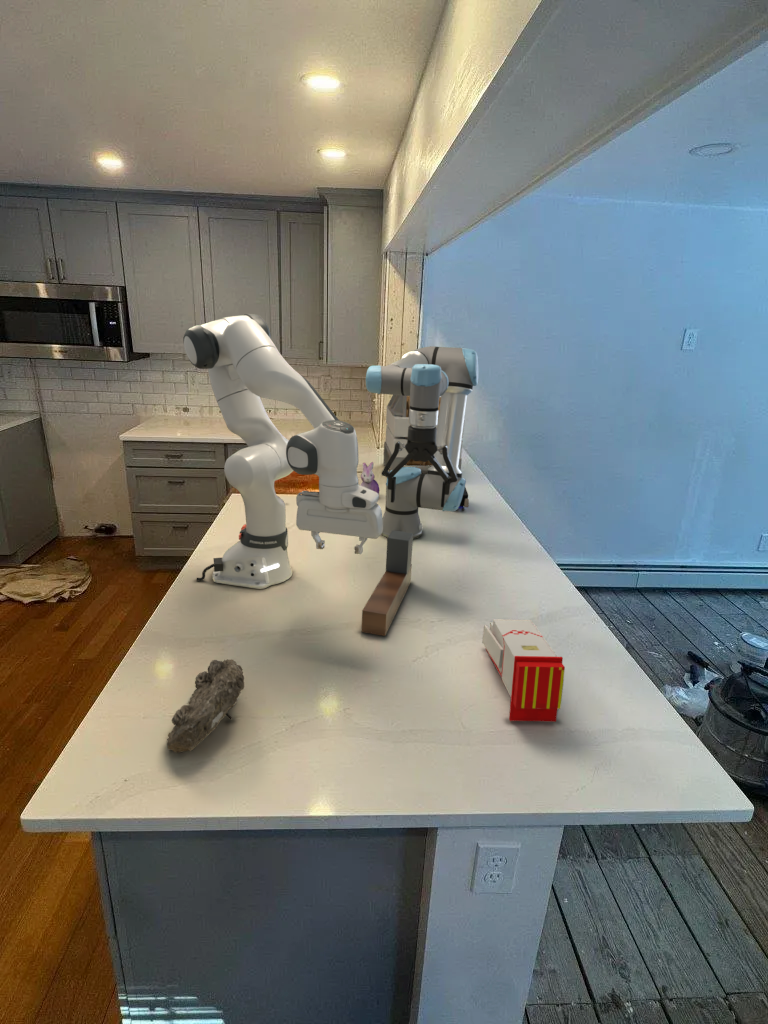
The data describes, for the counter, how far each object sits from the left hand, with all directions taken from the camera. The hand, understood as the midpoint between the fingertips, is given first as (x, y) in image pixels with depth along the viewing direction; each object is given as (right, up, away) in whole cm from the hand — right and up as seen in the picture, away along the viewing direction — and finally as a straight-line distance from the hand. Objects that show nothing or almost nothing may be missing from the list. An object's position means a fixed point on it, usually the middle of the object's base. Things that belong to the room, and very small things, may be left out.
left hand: (339, 550), depth 132 cm
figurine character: (+41, +11, +98) cm, 107 cm away
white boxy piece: (+28, +28, +143) cm, 148 cm away
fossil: (-22, -30, -24) cm, 44 cm away
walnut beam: (+12, -16, +20) cm, 28 cm away
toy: (+39, -27, -9) cm, 48 cm away
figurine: (+4, +15, +104) cm, 105 cm away
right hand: (+20, +11, +22) cm, 32 cm away
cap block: (+15, -7, +28) cm, 32 cm away
